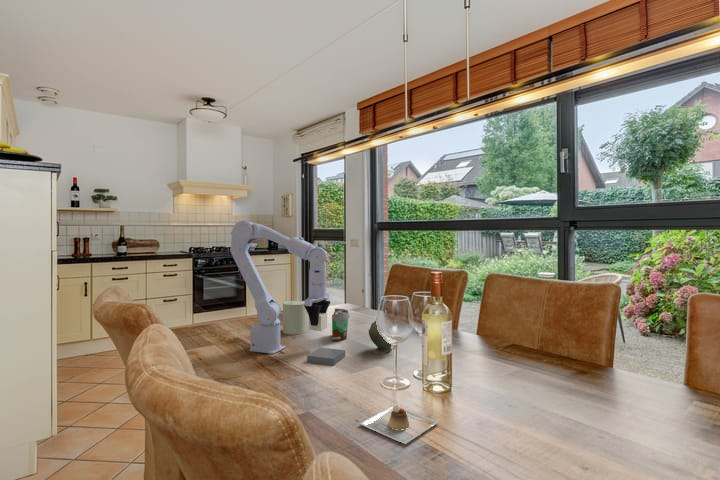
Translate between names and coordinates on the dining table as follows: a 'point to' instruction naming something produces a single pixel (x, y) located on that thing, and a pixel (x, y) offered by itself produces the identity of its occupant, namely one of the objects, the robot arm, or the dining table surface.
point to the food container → (339, 324)
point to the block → (320, 323)
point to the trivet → (326, 356)
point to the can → (294, 317)
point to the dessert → (397, 420)
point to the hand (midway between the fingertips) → (317, 323)
